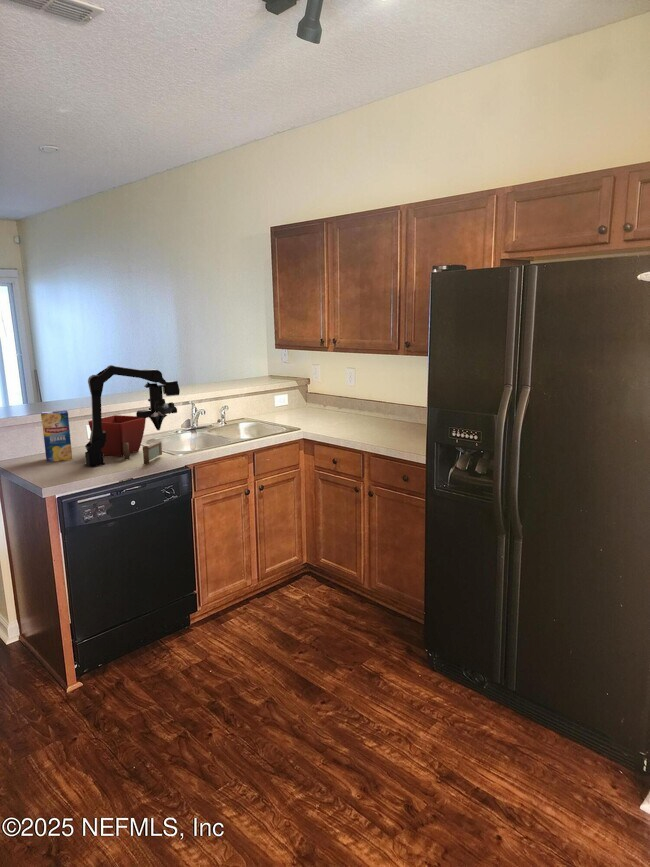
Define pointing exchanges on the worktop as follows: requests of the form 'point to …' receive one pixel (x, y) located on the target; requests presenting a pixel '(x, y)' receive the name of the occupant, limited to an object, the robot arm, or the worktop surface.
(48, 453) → the blue cardboard box
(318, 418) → the worktop surface
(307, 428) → the worktop surface
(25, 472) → the worktop surface
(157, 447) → the panel
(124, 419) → the plant pot
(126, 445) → the gate frame
